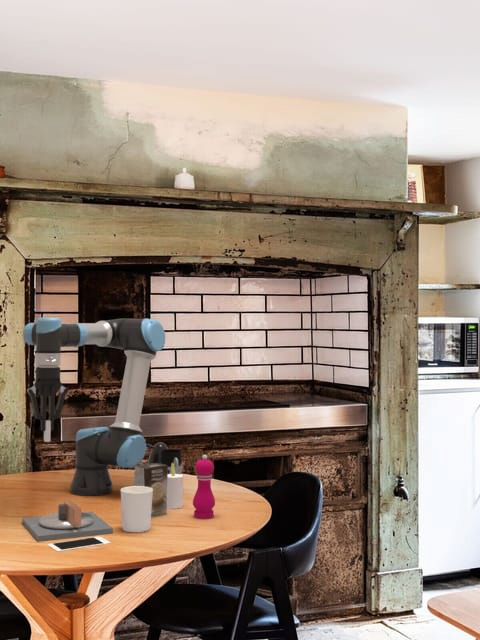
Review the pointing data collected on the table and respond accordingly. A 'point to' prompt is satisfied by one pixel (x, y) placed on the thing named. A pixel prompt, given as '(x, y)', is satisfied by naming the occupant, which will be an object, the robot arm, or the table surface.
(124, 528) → the candle holder
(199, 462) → the pepper mill
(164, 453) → the picture frame
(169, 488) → the candle
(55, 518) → the dial
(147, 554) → the table surface
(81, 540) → the cell phone
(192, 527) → the table surface
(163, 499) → the coffee box
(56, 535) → the dial plate
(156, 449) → the pump dispenser
